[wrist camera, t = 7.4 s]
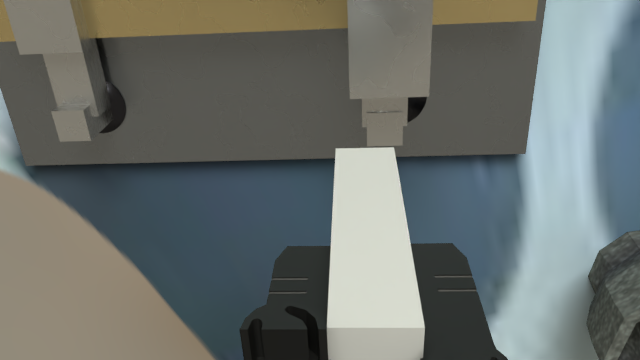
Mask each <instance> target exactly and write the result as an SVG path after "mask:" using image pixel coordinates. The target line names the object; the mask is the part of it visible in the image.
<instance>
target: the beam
mask: <svg viewBox="0 0 640 360" xmlns="http://www.w3.org/2000/svg"><path fill="white" fill-rule="evenodd" d="M537 5H538V0H433V19H432V25H439V24H465V23H490V22H515V21H536V13H537ZM338 28H348V10H347V0H0V42H9V41H16V44H17V47H18V50H19V54H20V55H24V54H43V57H44V61H45V65H46V68H47V72H48V75H49V79H50V82H51V86H52V89H53V93H54V96H55V100H56V103H57V107H56V108H55V109H54V110H52V111H51V113H52V116H53V119H54V123H55V126H56V130H57V133H58V137H59V140H60V142H66V141H91V140H93V139H94V138H95V137H96V136H97V135H98V134H99V133H100V132H101V131H102V130H103V129H104V128H105V127H106V126H107V125H108V124H109V123H110V122H111V121H112V120H113V116H112V112H111V107H110V106H111V103H110V99H109V94H108V90H107V86H106V82H105V78H104V73H103V69H102V65H101V61H100V56H99V52H98V48H97V44H96V40H95V38H110V37H136V36H161V35H186V34H212V33H237V32H262V31H288V30H313V29H338Z"/></svg>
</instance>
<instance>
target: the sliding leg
mask: <svg viewBox="0 0 640 360" xmlns="http://www.w3.org/2000/svg"><path fill="white" fill-rule="evenodd" d="M347 10H348V49H349V87H350V99H362V127H366V137H367V146H400V145H403V126H407V115H408V97H429V88H430V65H431V42H432V19H433V0H347Z"/></svg>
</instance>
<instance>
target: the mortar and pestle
mask: <svg viewBox="0 0 640 360" xmlns="http://www.w3.org/2000/svg"><path fill="white" fill-rule="evenodd" d="M588 277H589V279H590V282H591V284H592V287H593V289H594V291H595V294H596V295H595V297H594V299H593V301H592V303H591V306H590V310H589V315H588V319H587V327H588V330H589V334H590V337H591V341H592V344H593V346H594V348H595V351H596V353H597V355H598V358H599V360H640V231H632V232H627V233H625V234H624V235H622V236H621V237H619V238H618V239H616V240H615V241H613V242H612V243H610V244H609V245H608V246H606V247H605V248H603V249H602V250H600V251H599V253H598V255H597V257H596V260H595V262H594V264H593V267H592V269H591V271H590V273H589V276H588Z"/></svg>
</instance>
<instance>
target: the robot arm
mask: <svg viewBox="0 0 640 360" xmlns="http://www.w3.org/2000/svg"><path fill="white" fill-rule="evenodd" d="M240 335H241V342H242V349H243V356H244V360H508V359H507V358H506V357H505V356H504V355H503V354H502V353H500V352H499V351H498V350H497V349H496V347H495V345H494V343H493V340H492V337H491V333H490V330H489V327H488V324H487V321H486V318H485V314H484V311H483V308H482V305H481V302H480V299H479V295H478V292H476V286H475V283H474V280H473V278H472V273H471V270H470V267H469V264H468V261H467V258H466V257H465V256H464V255H463V254H462V253H461V252H460V251H459V250H458V249H457V248H456V247H455V246H454V245H453V244H452V243H436V244H410V238H409V232H408V226H407V220H406V214H405V209H404V203H403V197H402V191H401V185H400V179H399V174H398V168H397V162H396V156H395V150H394V147H388V148H336V153H335V173H334V193H333V213H332V233H331V246H287V247H286V249H285V250H284V251H283V252H282V253H281V254H280V256H279V257H278V258H277V259H276V260H275V264H274V269H273V274H272V281H271V284H270V289H269V295H268V300H267V305H264V306H262V307H259V308H257V309H256V310H254V311H253V312H252V313H251V314H250V315H249V316H247V317H246V318H245V320H244V322H243V324H242V326H241V328H240Z"/></svg>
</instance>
